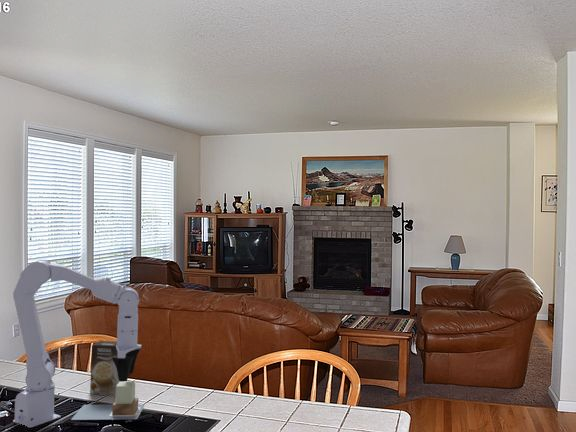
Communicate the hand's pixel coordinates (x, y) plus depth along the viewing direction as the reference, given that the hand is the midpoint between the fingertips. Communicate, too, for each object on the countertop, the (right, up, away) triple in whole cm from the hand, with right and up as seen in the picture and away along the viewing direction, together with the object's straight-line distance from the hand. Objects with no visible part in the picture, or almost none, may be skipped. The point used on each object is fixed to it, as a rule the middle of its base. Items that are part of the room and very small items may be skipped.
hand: (126, 377), depth 152 cm
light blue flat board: (-5, -10, -1) cm, 11 cm away
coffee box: (-12, -11, +17) cm, 23 cm away
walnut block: (0, -10, 0) cm, 10 cm away
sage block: (0, -7, 0) cm, 7 cm away
